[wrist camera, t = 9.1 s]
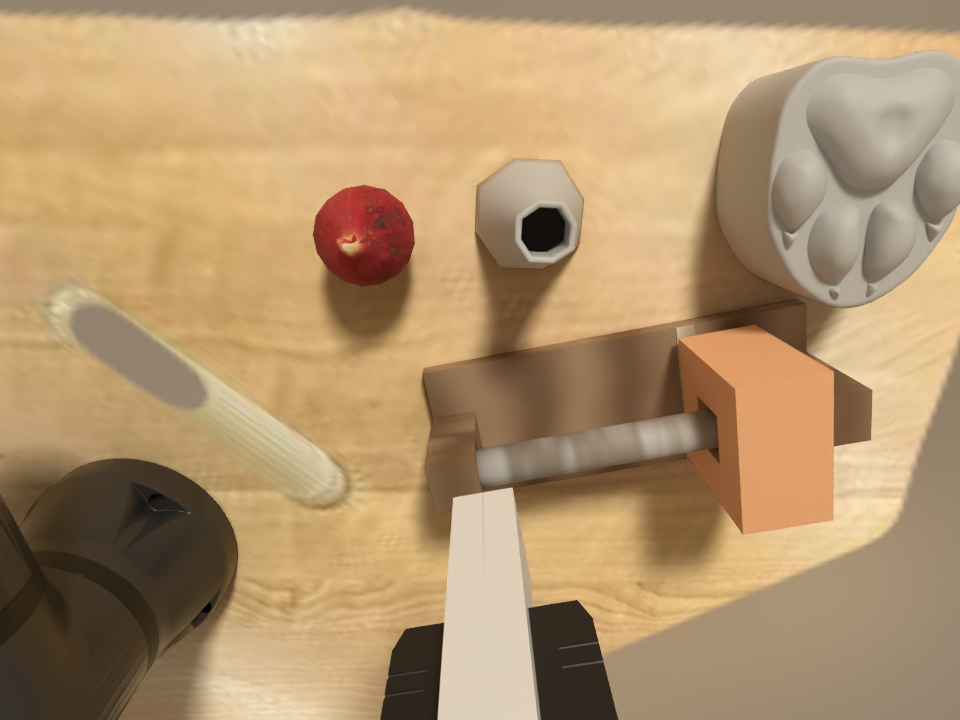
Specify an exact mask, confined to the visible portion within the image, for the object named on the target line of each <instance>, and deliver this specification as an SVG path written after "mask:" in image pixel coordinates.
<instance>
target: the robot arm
mask: <svg viewBox="0 0 960 720" xmlns="http://www.w3.org/2000/svg"><path fill="white" fill-rule="evenodd" d="M236 565H237V545H236V540H235V536H234V533H233V530H232V527H231V525H230V523H229V521H228V519H227V517H226V515H225V514H224V512H223V511H222V509H221V508H220V506H219V505H218V504H217V503H216V501H215V500H214V499H213V498H212V497H211V496H210V495H209V494H208V493H207V492H206V491H205V490H204V489H202V488H201V487H200V486H199V485H197V484H196V483H195V482H193V481H192V480H190V479H189V478H187V477H185V476H184V475H182V474H180V473H178V472H176V471H174V470H172V469H169V468H167V467H164V466H161V465H158V464H155V463H151V462H147V461H142V460H135V459H106V460H100V461H96V462H92V463H89V464H86V465H83V466H81V467H79V468H77V469H75V470H73V471H71V472H70V473H68V474H67V475H65V476H64V477H63V478H61V479H60V480H59V481H58V482H56V483H55V484H54V485H52V486H51V487H50V488H48V489H47V490H46V491H45V492H44V493H43V494H42V495H41V496H40V497H39V498H38V499H37V500H36V501H35V502H34V504H33V505H32V506H31V508H30V509H29V511H28V513H27V515H26V517H25V519H24V521H23V524H22V525H21V527H20V528H19V527H18V526H17V524H16V522H15V520H14V518H13V516H12V515H11V513H10V511H9V509H8V507H7V506H6V504H5V502H4V500H3V498H2V497H1V495H0V720H118V718H119V716H120V715H121V713H122V712H123V710H124V708H125V707H126V705H127V704H128V702H129V700H130V699H131V697H132V695H133V694H134V692H135V691H136V689H137V687H138V686H139V684H140V682H141V681H142V679H143V678H144V676H145V674H146V673H147V671H148V670H149V668H150V667H151V666H152V664H153V663H154V661H155V660H156V659H158V658H159V657H160V656H161V655H162V654H164V653H165V652H166V651H167V650H169V649H170V648H171V647H172V646H174V645H175V644H176V643H177V642H178V641H180V640H181V639H182V638H183V637H185V636H186V635H187V634H188V633H190V632H191V631H192V630H193V629H194V628H196V627H197V626H198V625H200V624H201V623H202V622H203V621H204V620H205V619H206V618H207V617H208V616H209V615H210V614H211V613H212V612H213V611H214V609H215V608H216V607H217V605H218V604H219V602H220V600H221V599H222V597H223V595H224V594H225V592H226V590H227V589H228V587H229V585H230V583H231V581H232V579H233V576H234V573H235V570H236ZM388 676H389V678H388V679H387V684H386V690H385V699H384V701H383V707H382V713H381V719H380V720H618V717H617V713H616V710H615V706H614V702H613V698H612V694H611V690H610V686H609V682H608V678H607V674H606V670H605V666H604V663H603V658H602V654H601V650H600V646H599V643H598V638H597V634H596V630H595V626H594V622H593V618H592V617H591V616H590V614H589V613H588V612H587V611H586V610H585V609H584V607H583V606H582V605H581V604H580V603H579V602H578V600H575V601H569V602H562V603H556V604H550V605H543V606H537V607H534V601H533V594H532V586H531V578H530V573H529V568H528V563H527V558H526V553H525V547H524V542H523V537H522V532H521V527H520V522H519V517H518V512H517V507H516V502H515V497H514V492H513V487H512V488H506V489H500V490H495V491H489V492H483V493H477V494H471V495H465V496H459V497H453V507H452V522H451V536H450V550H449V564H448V578H447V592H446V607H445V621H444V623H440V624H434V625H428V626H421V627H415V628H409V629H405V631H404V633H403V634H402V636H401V637H400V639H399V641H398V642H397V644H396V646H395V647H394V649H393V650H392V655H391V661H390V667H389V673H388Z"/></svg>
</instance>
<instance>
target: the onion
mask: <svg viewBox="0 0 960 720" xmlns="http://www.w3.org/2000/svg"><path fill="white" fill-rule="evenodd" d="M313 237H314V241H315V245H316V250H317V253H318V255H319V256H320V258H321V259H322V261H323V262H324V264H325V265H326V267H327V268H328V270H330V271H331V272H332V273H334V274H335V275H336V276H338V277H339V278H340V279H341V280H343V281H345V282H349V283H352V284H355V285H359V286H369V285H377V284H381V283H383V282H385V281H387V280H389V279H390V278H392V277H394V276H396V275H398V273H399V272H400V271H401V270H402V269H403V268H404V267H405V265H406V264H407V263H408V262H409V260H410V257H411V253H412V250H413V247H414V244H415V242H414V229H413V221H412V219H411V218H410V216H409V214H408V212H407V210H406V209H405V207H404V205H403V203H402V202H400V201H399V200H398V199H397V198H395V197H394V196H393V195H391V194H390V193H389V192H387V191H386V190H385V189H380V188H376V187H371V186H366V185H362V186H356V187H350V188H345V189H343V190H341V191H340V192H338V193H337V194H335V195H334V196H332V197H331V198H330V199H328V200H327V201H326V203H325V204H324V205H323V207H322V208H321V209H320V211H319V212H318V214H317V215H316V218H315V225H314V232H313Z"/></svg>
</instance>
